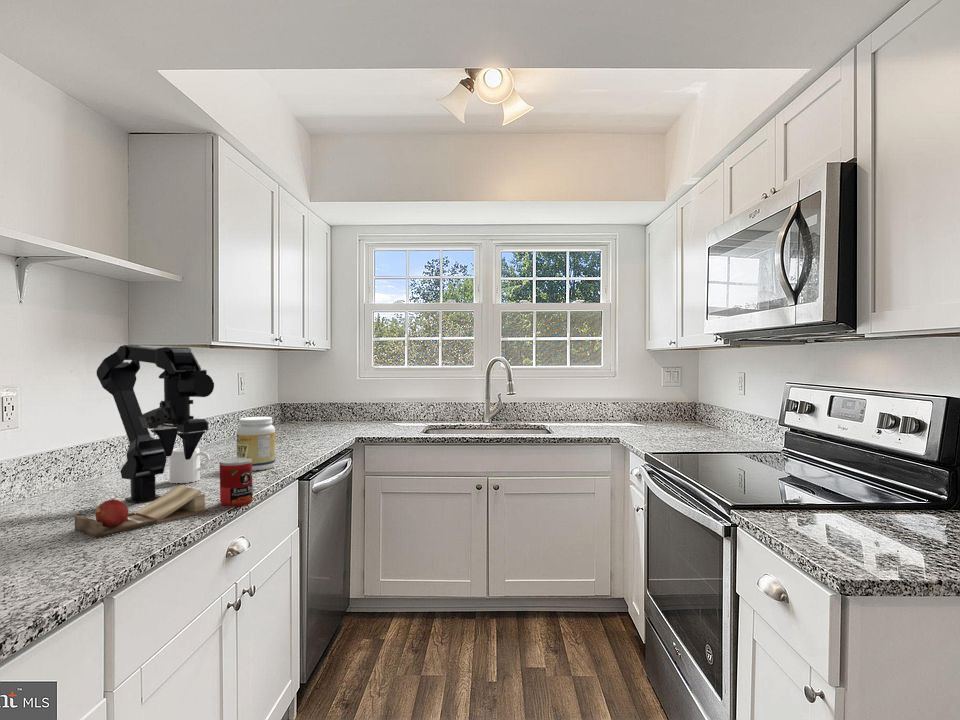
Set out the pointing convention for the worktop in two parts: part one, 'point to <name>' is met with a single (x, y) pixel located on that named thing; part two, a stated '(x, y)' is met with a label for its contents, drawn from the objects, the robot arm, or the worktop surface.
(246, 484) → the canned food
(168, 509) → the ramp
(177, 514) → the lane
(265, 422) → the supplement tub
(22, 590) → the worktop surface
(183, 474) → the mug
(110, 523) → the onion
